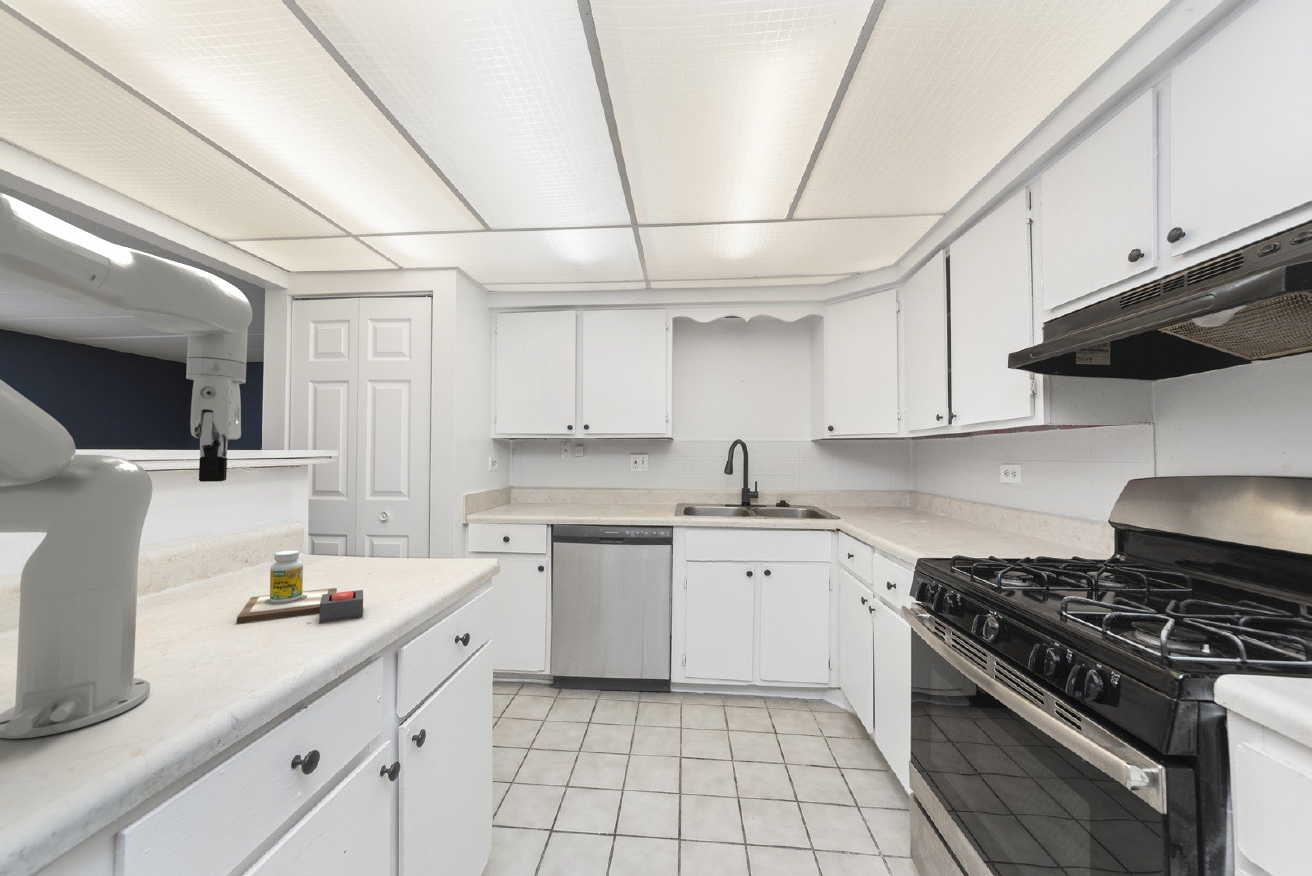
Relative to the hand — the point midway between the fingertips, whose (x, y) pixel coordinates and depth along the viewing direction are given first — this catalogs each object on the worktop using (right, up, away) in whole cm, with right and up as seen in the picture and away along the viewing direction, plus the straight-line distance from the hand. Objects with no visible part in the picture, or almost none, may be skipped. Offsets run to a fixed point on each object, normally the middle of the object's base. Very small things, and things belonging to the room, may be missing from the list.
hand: (212, 480), depth 83 cm
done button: (+13, -26, +14) cm, 32 cm away
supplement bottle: (-1, -26, +18) cm, 32 cm away
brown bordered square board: (0, -27, +18) cm, 33 cm away
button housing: (+13, -28, +14) cm, 33 cm away
